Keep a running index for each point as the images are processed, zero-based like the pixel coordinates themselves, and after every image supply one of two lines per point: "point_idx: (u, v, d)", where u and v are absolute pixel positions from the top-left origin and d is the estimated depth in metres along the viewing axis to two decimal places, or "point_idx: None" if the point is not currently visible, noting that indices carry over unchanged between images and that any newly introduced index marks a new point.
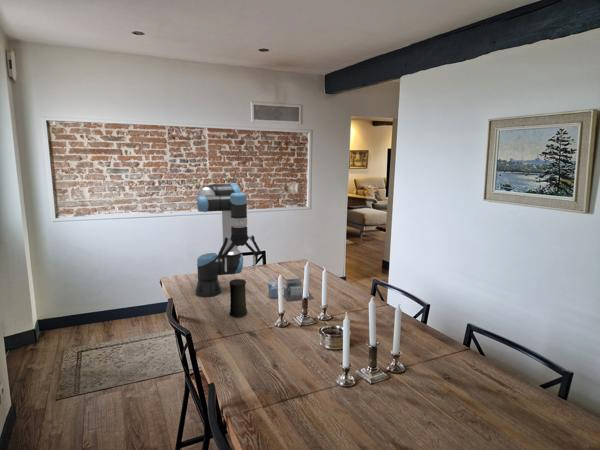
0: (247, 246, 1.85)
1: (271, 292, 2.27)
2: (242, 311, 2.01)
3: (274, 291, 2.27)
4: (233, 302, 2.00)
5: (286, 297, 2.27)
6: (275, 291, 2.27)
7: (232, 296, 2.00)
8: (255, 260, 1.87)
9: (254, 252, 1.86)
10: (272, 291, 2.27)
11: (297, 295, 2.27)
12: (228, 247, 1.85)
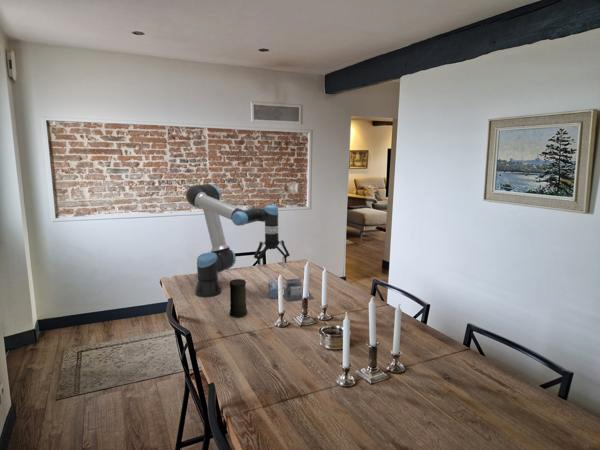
0: (278, 249, 2.23)
1: (271, 292, 2.27)
2: (242, 311, 2.01)
3: (274, 291, 2.27)
4: (233, 302, 2.00)
5: (286, 297, 2.27)
6: (275, 291, 2.27)
7: (232, 296, 2.00)
8: (284, 261, 2.25)
9: (283, 254, 2.25)
10: (272, 291, 2.27)
11: (297, 295, 2.27)
12: (262, 250, 2.23)
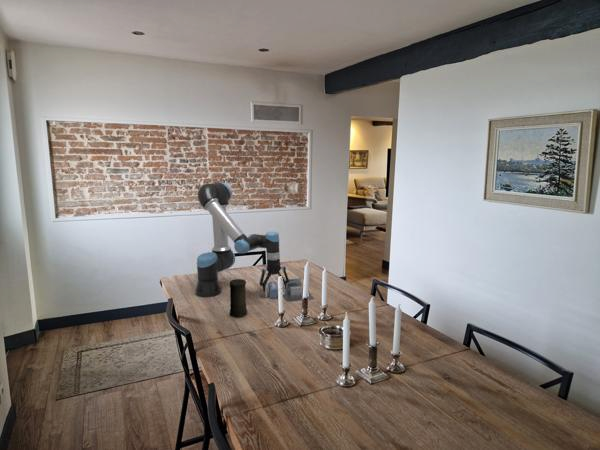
0: (279, 275, 2.28)
1: (271, 292, 2.27)
2: (242, 311, 2.01)
3: (274, 291, 2.27)
4: (233, 302, 2.00)
5: (286, 297, 2.27)
6: (275, 291, 2.27)
7: (232, 296, 2.00)
8: (284, 287, 2.30)
9: (284, 280, 2.29)
10: (272, 291, 2.27)
11: (297, 295, 2.27)
12: (266, 277, 2.28)
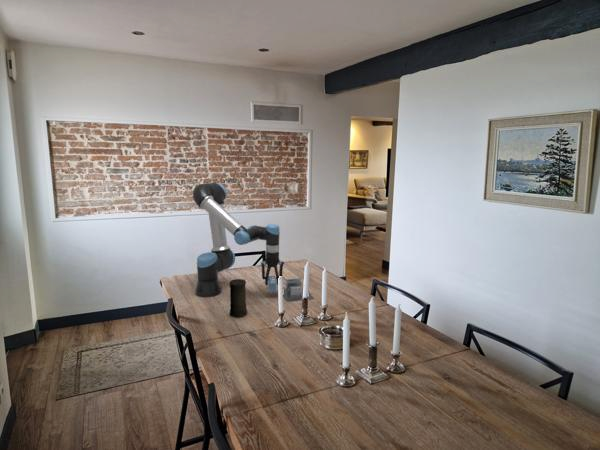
0: (275, 269, 2.26)
1: (270, 286, 2.26)
2: (242, 311, 2.01)
3: (273, 285, 2.27)
4: (233, 302, 2.00)
5: (286, 297, 2.27)
6: (274, 285, 2.27)
7: (232, 296, 2.00)
8: (277, 283, 2.28)
9: (277, 276, 2.28)
10: (271, 285, 2.26)
11: (297, 295, 2.27)
12: None
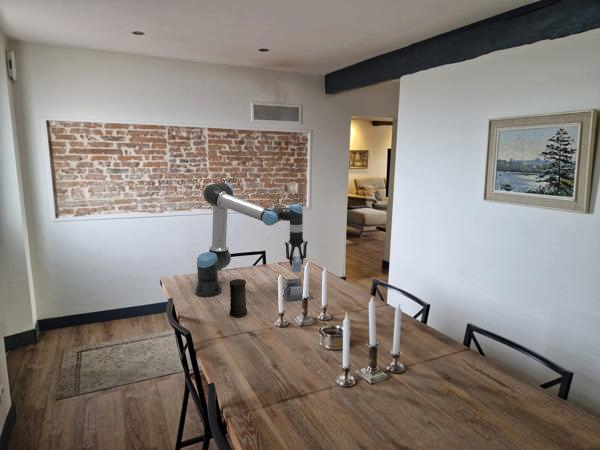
0: (299, 248, 2.28)
1: (295, 266, 2.28)
2: (242, 311, 2.01)
3: (298, 265, 2.28)
4: (233, 302, 2.00)
5: (286, 297, 2.27)
6: (299, 265, 2.28)
7: (232, 296, 2.00)
8: (301, 263, 2.30)
9: (301, 255, 2.29)
10: (296, 265, 2.28)
11: (297, 295, 2.27)
12: (291, 250, 2.29)
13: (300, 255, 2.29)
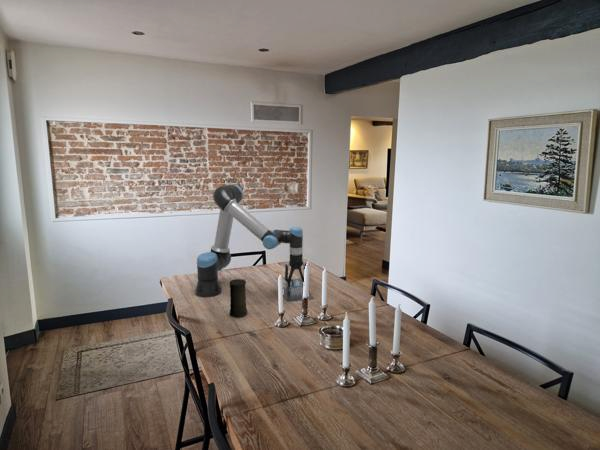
0: (299, 271, 2.31)
1: None
2: (242, 311, 2.01)
3: None
4: (233, 302, 2.00)
5: (286, 297, 2.27)
6: None
7: (232, 296, 2.00)
8: (302, 284, 2.32)
9: (302, 277, 2.32)
10: None
11: (297, 295, 2.27)
12: (290, 272, 2.31)
13: (301, 277, 2.32)
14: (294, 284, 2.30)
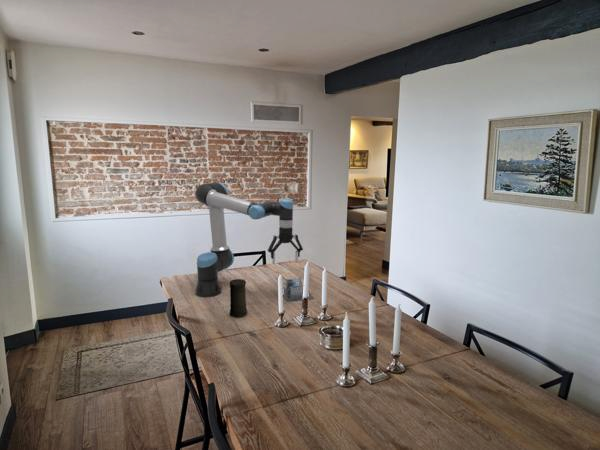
0: (292, 243, 2.23)
1: None
2: (242, 311, 2.01)
3: None
4: (233, 302, 2.00)
5: (286, 297, 2.27)
6: None
7: (232, 296, 2.00)
8: (298, 255, 2.26)
9: (297, 248, 2.25)
10: None
11: (297, 295, 2.27)
12: (276, 244, 2.23)
13: (296, 248, 2.25)
14: (294, 284, 2.30)
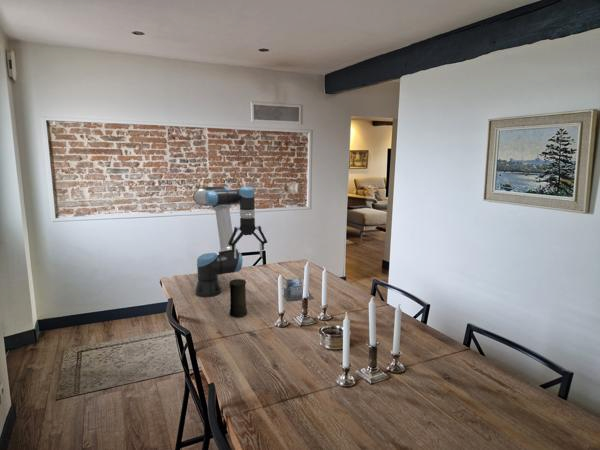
0: (254, 235, 2.05)
1: None
2: (242, 311, 2.01)
3: None
4: (233, 302, 2.00)
5: (286, 297, 2.27)
6: None
7: (232, 296, 2.00)
8: (261, 248, 2.07)
9: (261, 241, 2.06)
10: None
11: (297, 295, 2.27)
12: None
13: None
14: (294, 284, 2.30)
